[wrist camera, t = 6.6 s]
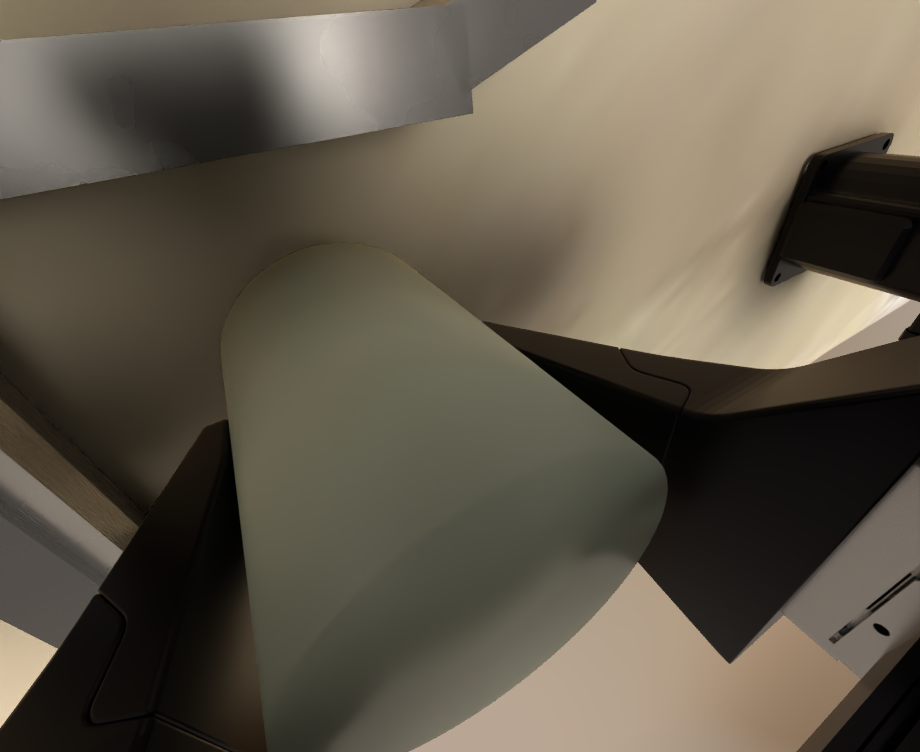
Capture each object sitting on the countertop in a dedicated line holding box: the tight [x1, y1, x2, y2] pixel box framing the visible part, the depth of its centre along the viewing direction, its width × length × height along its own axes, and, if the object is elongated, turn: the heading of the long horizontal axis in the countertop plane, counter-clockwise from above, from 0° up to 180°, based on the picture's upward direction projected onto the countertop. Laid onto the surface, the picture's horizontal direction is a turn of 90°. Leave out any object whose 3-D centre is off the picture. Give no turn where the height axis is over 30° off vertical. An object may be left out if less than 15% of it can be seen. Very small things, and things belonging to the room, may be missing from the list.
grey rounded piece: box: [220, 243, 668, 752], centre depth 7 cm, size 5×5×7 cm
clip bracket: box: [0, 0, 596, 648], centre depth 10 cm, size 14×14×3 cm
